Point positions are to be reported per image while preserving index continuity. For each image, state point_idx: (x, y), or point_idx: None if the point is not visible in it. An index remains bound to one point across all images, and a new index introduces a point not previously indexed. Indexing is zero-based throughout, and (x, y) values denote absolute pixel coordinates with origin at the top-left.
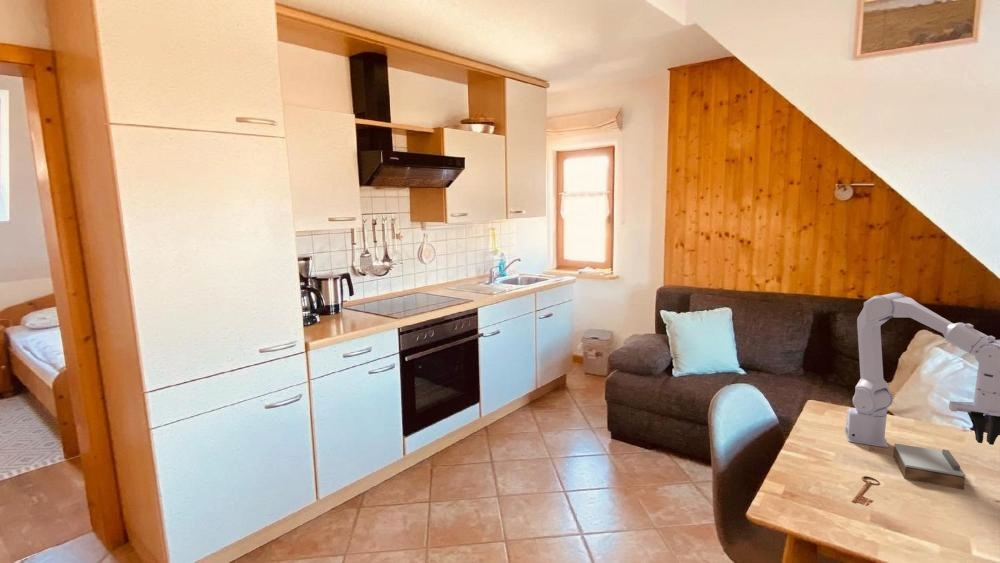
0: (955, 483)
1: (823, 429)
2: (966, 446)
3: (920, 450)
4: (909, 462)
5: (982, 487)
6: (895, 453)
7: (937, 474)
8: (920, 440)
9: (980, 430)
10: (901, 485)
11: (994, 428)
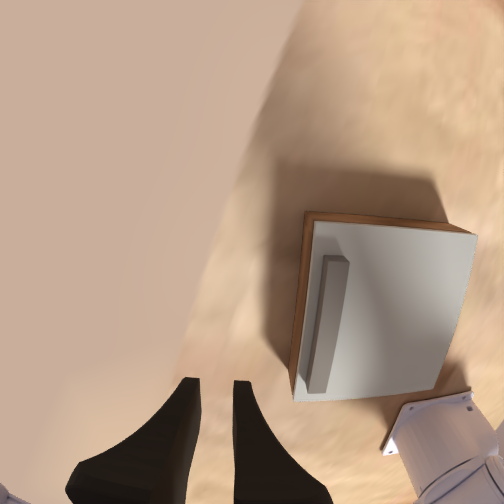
0: (332, 215)
1: None
2: (197, 469)
3: (383, 375)
4: (461, 261)
5: (235, 252)
6: None
7: (393, 224)
8: None
9: (257, 433)
10: (467, 174)
11: (172, 450)
